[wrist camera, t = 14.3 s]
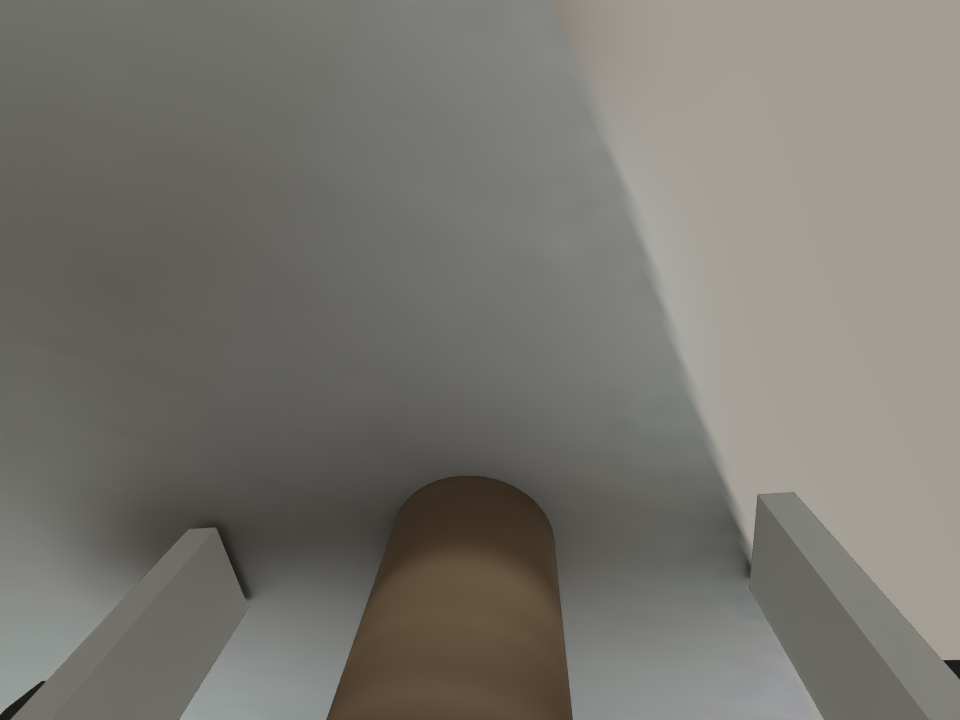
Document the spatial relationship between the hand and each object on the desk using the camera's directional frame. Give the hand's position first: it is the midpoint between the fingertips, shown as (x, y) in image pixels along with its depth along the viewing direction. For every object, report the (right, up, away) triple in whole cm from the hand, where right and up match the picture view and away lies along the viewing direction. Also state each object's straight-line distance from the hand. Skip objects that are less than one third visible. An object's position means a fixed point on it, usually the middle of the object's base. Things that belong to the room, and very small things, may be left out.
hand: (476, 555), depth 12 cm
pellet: (0, 0, 0) cm, 0 cm away
